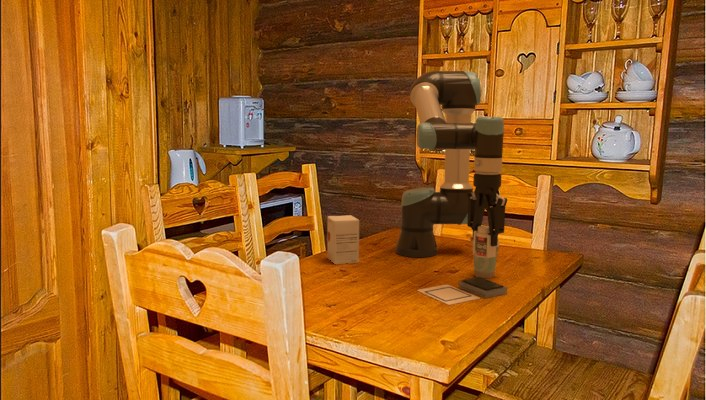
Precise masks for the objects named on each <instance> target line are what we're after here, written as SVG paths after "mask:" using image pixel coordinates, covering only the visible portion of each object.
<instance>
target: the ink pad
mask: <svg viewBox="0 0 706 400" xmlns="http://www.w3.org/2000/svg"><path fill="white" fill-rule="evenodd" d="M458 289H460V290H461V289H462V290H463V291H465V292H466V291H467V292H468V293H470V294H472V295H475V296H476V295H477V297H480V298H484V299H489V298H494V297H498V296H503V295H507V294H508V286H505V285H502V284H500V283H497V282H494V281H492V280H489V279H488V278H481V277H473V278H467V279H466V278H465V279H461V280H459V281H458Z"/></svg>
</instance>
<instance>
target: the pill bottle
mask: <svg viewBox="0 0 706 400" xmlns="http://www.w3.org/2000/svg"><path fill="white" fill-rule="evenodd" d="M488 233H490V231H489V225H481V226H478V233H477V234H476V248H475V255H476V256H477V257H482V258H487V257H486V254H487V234H488Z"/></svg>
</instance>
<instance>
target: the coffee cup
mask: <svg viewBox="0 0 706 400" xmlns="http://www.w3.org/2000/svg"><path fill="white" fill-rule="evenodd" d="M471 245H472V246H473V240H471ZM500 246H501V245H500V241H499V239H498V243H497V246H496V256H495V257H491V258H482V257H477V256H476V255H475V254H474V253H473V252H472V256H473V269H474V270H473V271H474V276H475V278H477V277H481V278H484V279H492V278H494V277H495V271H496V266H497V265H496V264H497V259H498V254H499V253H498V251H499V247H500Z"/></svg>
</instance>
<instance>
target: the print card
mask: <svg viewBox="0 0 706 400" xmlns="http://www.w3.org/2000/svg"><path fill="white" fill-rule="evenodd" d="M416 291H417V292H419V293H421V294H423V295H425V296H427V297H430V298H431V299H434V300H437V301H438V302H441V303H443V304H445V305H447V306H451V305H452V306H453V305H457V304H462V303H466V302H472V301H475V300H480V299H481V297H480V296H476V295H475V294H473V293H470V292H468V291H467V292H466V291H465V290H463V289H462V290H461V289H460V288H456V287H454V286H452V285H450V284H442V285H436V286H432V287H431V286H430V287H426V288H421V289H416Z"/></svg>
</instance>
